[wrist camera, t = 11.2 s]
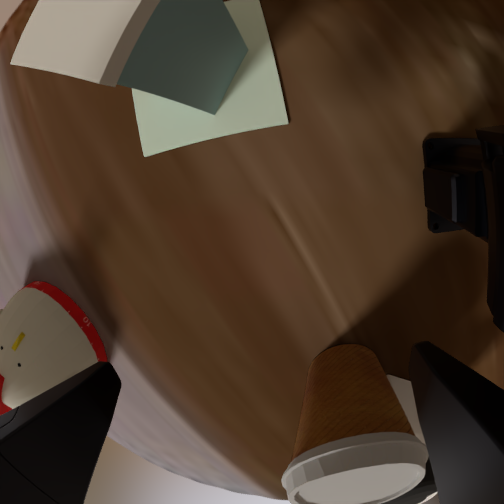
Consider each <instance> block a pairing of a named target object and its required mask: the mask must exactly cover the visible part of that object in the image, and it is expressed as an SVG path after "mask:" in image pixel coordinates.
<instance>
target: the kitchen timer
mask: <svg viewBox="0 0 504 504" xmlns="http://www.w3.org/2000/svg"><path fill="white" fill-rule="evenodd" d="M99 361H104V362H107V356H106V352H105V349H104V345H103V343H102V341H101V339H100V337H99V335H98V333H97V331H96V329H95V327H94V326H93V325H92V323H91V322H90V320H89V319H88V318H87V316H86V315H85V313H84V312H83V311H82V310H81V309H80V308H79V307H78V305H77V304H76V303H75V302H74V301H73V300H72V299H71V298H70V297H69V296H67V295H66V294H65V293H63V292H62V291H61V290H60V289H58V288H57V287H55V286H53V285H51V284H48V283H46V282H40V281H34V282H32V283H30V284H28V285H27V286H25V287H24V288H22V289H21V290H19V291H18V292H17V293H16V294H15V295H14V296H13V297H12V298H11V299H10V301H9V302H8V304H7V305H6V307H5V308H4V310H3V309H1V310H0V415H2V414H4V413H6V412H8V411H10V410H12V409H14V408H16V407H18V406H20V405H21V404H23V403H25V402H27V401H29V400H30V399H32V398H34V397H36V396H38V395H40V394H41V393H43V392H45V391H47V390H49V389H50V388H52V387H54V386H56V385H58V384H59V383H61V382H63V381H65V380H67V379H68V378H70V377H72V376H74V375H75V374H77V373H79V372H81V371H83V370H84V369H86V368H88V367H90V366H91V365H93V364H95V363H97V362H99Z"/></svg>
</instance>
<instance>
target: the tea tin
mask: <svg viewBox="0 0 504 504" xmlns="http://www.w3.org/2000/svg"><path fill="white" fill-rule="evenodd" d="M247 52H248V48H247V46H246V44H245V42H244V40H243V38H242V36H241V34H240V32H239V30H238V28H237V26H236V24H235V23H234V21H233V19H232V17H231V15H230V13H229V11H228V9H227V8H226V6H225V4H224V2H223V0H39V2H38V3H37V5H36V7H35V9H34V11H33V13H32V15H31V17H30V19H29V21H28V23H27V25H26V27H25V29H24V31H23V34H22V36H21V38H20V40H19V43H18V45H17V48H16V50H15V52H14V55H13V58H12V60H11V63H10V64H13V65H19V66H25V67H31V68H36V69H41V70H46V71H51V72H55V73H60V74H64V75H68V76H72V77H76V78H80V79H84V80H88V81H92V82H95V83H99V84H103V85H108V86H112V87H115V86H116V84H119V85H122V86H126V87H130V88H133V89H137V90H141V91H144V92H147V93H151V94H154V95H157V96H160V97H164V98H167V99H170V100H173V101H176V102H179V103H182V104H185V105H188V106H191V107H193V108H196V109H199V110H202V111H204V112H207V113H210V114H212V115H215V113H216V111H217V109H218V107H219V105H220V103H221V101H222V99H223V97H224V95H225V93H226V91H227V89H228V87H229V85H230V83H231V81H232V79H233V78H234V76H235V74H236V72H237V70H238V68H239V66H240V64H241V63H242V61H243V59H244V57H245V55H246V54H247Z"/></svg>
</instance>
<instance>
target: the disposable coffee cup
mask: <svg viewBox="0 0 504 504" xmlns="http://www.w3.org/2000/svg"><path fill="white" fill-rule="evenodd" d="M428 457H429V455H428V451H427V447H426V445H425V444H424V443H422V442H421V441H420V440H419V439H418V438H417V437H416V436H415V434H414V431H413V429H412V427H411V425H410V423H409V421H408V418H407V416H406V414H405V412H404V410H403V408H402V406H401V404H400V402H399V400H398V398H397V397H396V394H395V392H394V390H393V388H392V386H391V384H390V382H389V381H388V378H387V376H386V374H385V372H384V371H383V368H382V366H381V364H380V362H379V360H378V359H377V356H376V355H375V354H374V352H373V351H372V350H370V349H369V348H367V347H365V346H362V345H358V344H343V345H338V346H334V347H332V348H329V349H327V350H326V351H324V352H322V353H321V354H319V355H318V356H317V357H316V358H315V359H314V360H313V361H312V363H311V365H310V367H309V370H308V375H307V382H306V388H305V394H304V399H303V405H302V411H301V416H300V421H299V426H298V431H297V436H296V441H295V446H294V451H293V455H292V460H291V463H290V464H289V466H288V468H287V470H286V471H285V472H284V474H283V477H282V480H281V481H282V485H283V487H284V488H285V489H286V490H287V495H288V500H289V501H290V503H292V504H381V503H384V502H387V501H390V500H392V499H395V498H397V497H399V496H401V495H403V494H404V493H406V492H408V491H410V490H411V489H412V488H414V487H415V486H417V485H418V484H419V483H420V482H421V480H422V479H423V478H424V476H425V470H426V462H427V460H428Z"/></svg>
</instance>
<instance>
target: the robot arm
mask: <svg viewBox="0 0 504 504" xmlns="http://www.w3.org/2000/svg"><path fill="white" fill-rule="evenodd" d="M476 133H477V138H478V139H472V138H431V139H425V140H424V141H423V145H422V147H423V155H424V164H425V168H424V170H423V180H424V195H425V206H426V207H427V212H428V229H429V230H430V231H431V232H433V233H441V232H448V231H455V230H462V229H465V230H467V231H468V232H470V233H472V234H473V235H475V236H476V237H479V238H481V239H483V240H484V241H486V242H487V243H488V284H487V304H488V306H489V308H490V311H491V313H492V315H493V316H494V317H493V322H494V324H495V325H496V326H497V327H498V328H499V329H500V330H501V331H502V332H504V125H500V126H492V127H486V128H479V129H476ZM429 143H431V145H432V148H431V149H429V148H428V144H429ZM434 223H436V227H435V228H433V225H434ZM409 376H410V380H411V385H412V389H413V394H414V399H415V404H416V409H417V414H418V419H419V423H420V427H421V430H422V433H423V437H424V440H425V444H426V447H427V451H428V455H429V458H430V462H431V466H432V470H433V474H434V479H435V483H436V487H437V492H438V496H439V502H440V504H504V390H503V389H501V388H500V387H498V386H497V385H495V384H494V383H492V382H491V381H489V380H488V379H486V378H485V377H483V376H482V375H480V374H479V373H477V372H475V371H474V370H472V369H471V368H469V367H468V366H466V365H465V364H463V363H462V362H460V361H458V360H457V359H455V358H454V357H452V356H451V355H449V354H448V353H446V352H444V351H443V350H441V349H440V348H438V347H437V346H435V345H433V344H432V343H430V342H429V341H423V342H418V343H415V344H414V345H413V346H412V351H411V357H410V362H409ZM120 389H121V380H120V378H119V376H118V375H117V373H116V371H115V369H114V368H113V366H112V364H111V363H109V362H104V361H99V362H97V363H95V364H93V365H91V366H90V367H88V368H86V369H84V370H83V371H81V372H79V373H77V374H75V375H74V376H72V377H70V378H68V379H67V380H65V381H63V382H61V383H59V384H58V385H56V386H54V387H52V388H50V389H49V390H47V391H45V392H43V393H41V394H40V395H38V396H36V397H34V398H32V399H30V400H29V401H27V402H25V403H23V404H21V405H20V406H18V407H16V408H14V409H12V410H10V411H8V412H6V413H4V414H2V415H0V504H84V500H85V497H86V494H87V491H88V487H89V484H90V481H91V478H92V475H93V472H94V469H95V466H96V463H97V461H98V457H99V455H100V452H101V449H102V446H103V444H104V441H105V438H106V435H107V433H108V430H109V427H110V424H111V421H112V418H113V414H114V410H115V407H116V403H117V400H118V396H119V393H120Z"/></svg>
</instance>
